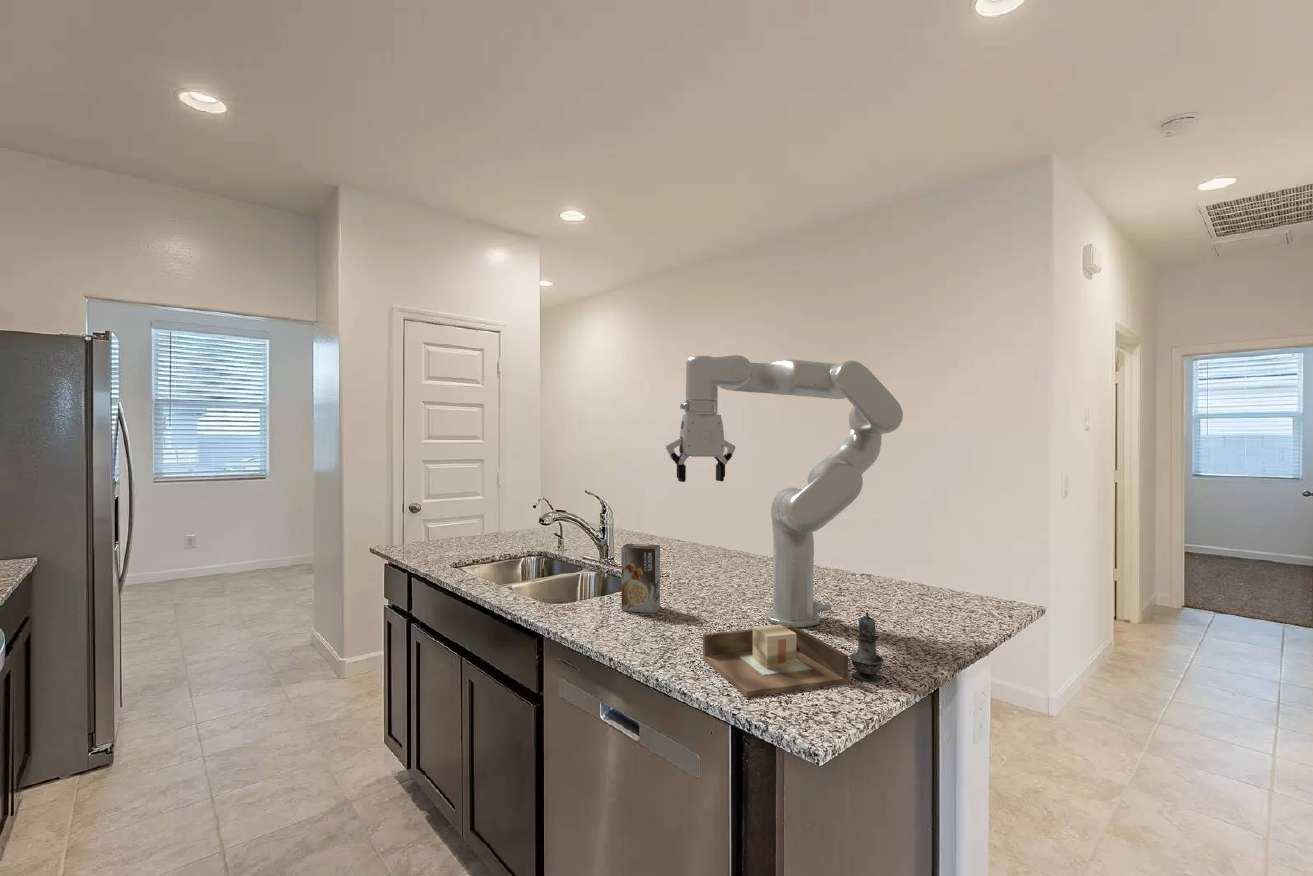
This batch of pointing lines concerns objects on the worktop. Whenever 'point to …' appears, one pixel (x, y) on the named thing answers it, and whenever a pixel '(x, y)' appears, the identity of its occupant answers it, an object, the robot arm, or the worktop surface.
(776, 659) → the maple cube
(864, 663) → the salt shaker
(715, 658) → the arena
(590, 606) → the worktop surface
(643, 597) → the coffee box
